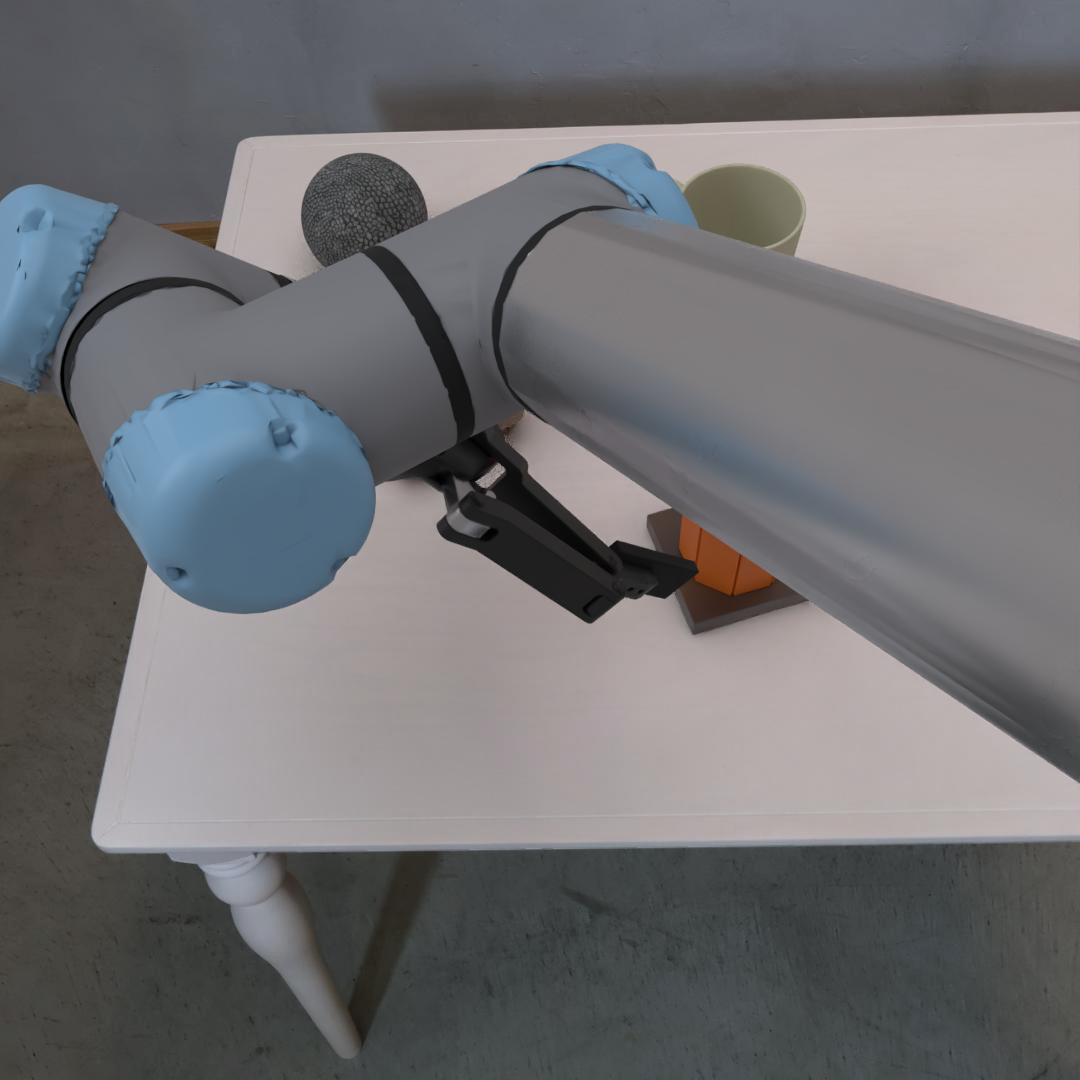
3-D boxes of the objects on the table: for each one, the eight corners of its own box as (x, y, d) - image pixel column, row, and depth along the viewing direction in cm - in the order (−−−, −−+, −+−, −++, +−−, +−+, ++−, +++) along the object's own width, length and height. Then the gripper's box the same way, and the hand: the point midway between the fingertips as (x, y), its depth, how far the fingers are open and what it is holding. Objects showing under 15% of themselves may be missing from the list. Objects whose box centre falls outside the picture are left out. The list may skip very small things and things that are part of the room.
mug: (781, 277, 91) (804, 155, 81) (783, 371, 86) (808, 254, 76) (645, 272, 92) (651, 151, 82) (639, 365, 87) (644, 248, 77)
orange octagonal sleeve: (800, 577, 75) (828, 481, 65) (704, 605, 74) (719, 513, 64) (759, 496, 78) (781, 395, 69) (667, 522, 77) (676, 424, 68)
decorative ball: (356, 210, 98) (332, 112, 89) (456, 243, 95) (442, 145, 86) (292, 287, 93) (262, 191, 84) (396, 324, 90) (375, 229, 82)
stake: (818, 597, 75) (863, 466, 63) (692, 635, 74) (711, 509, 62) (765, 492, 80) (796, 350, 67) (646, 526, 79) (655, 388, 66)
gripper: (250, 258, 60) (534, 371, 74) (348, 662, 47) (668, 703, 62) (327, 153, 56) (610, 294, 71) (458, 562, 43) (771, 631, 58)
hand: (638, 485), depth 66 cm, fingers open, 13 cm apart
